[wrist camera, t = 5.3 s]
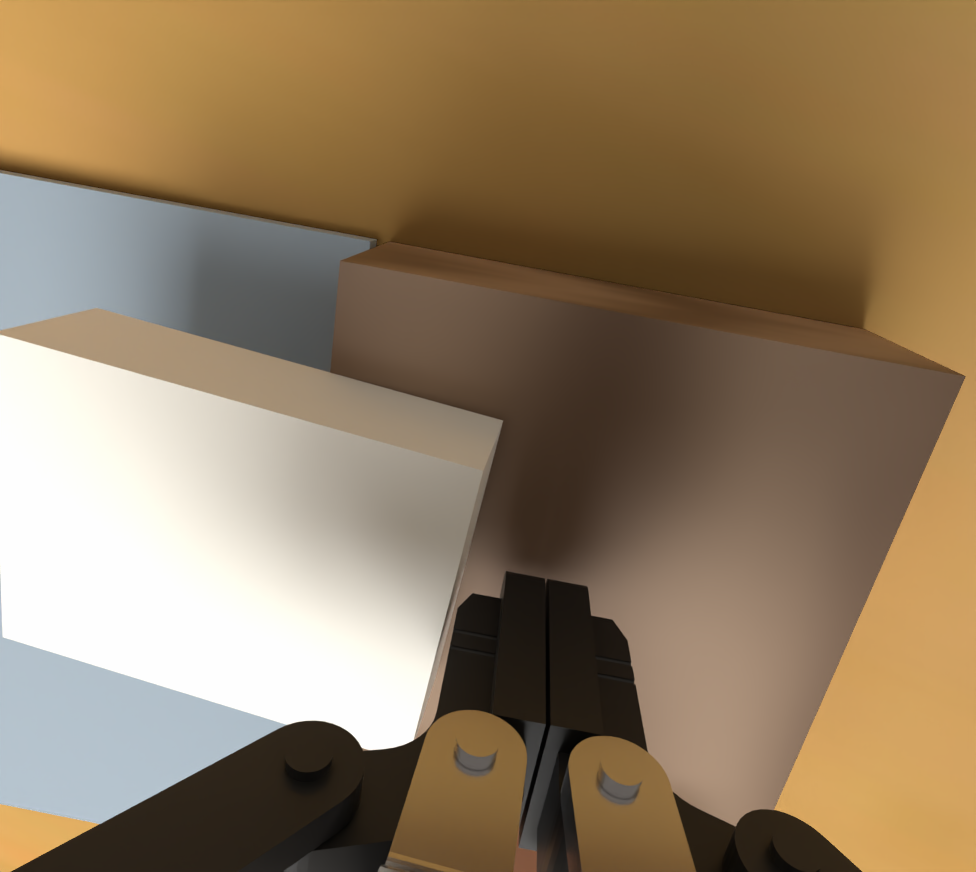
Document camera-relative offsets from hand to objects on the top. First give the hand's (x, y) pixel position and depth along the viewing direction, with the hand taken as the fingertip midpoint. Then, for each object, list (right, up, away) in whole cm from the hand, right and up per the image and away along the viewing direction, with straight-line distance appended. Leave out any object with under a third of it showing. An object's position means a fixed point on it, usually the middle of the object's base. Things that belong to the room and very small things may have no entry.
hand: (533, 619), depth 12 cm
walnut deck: (+1, -2, +7) cm, 7 cm away
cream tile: (-5, +2, +1) cm, 6 cm away
